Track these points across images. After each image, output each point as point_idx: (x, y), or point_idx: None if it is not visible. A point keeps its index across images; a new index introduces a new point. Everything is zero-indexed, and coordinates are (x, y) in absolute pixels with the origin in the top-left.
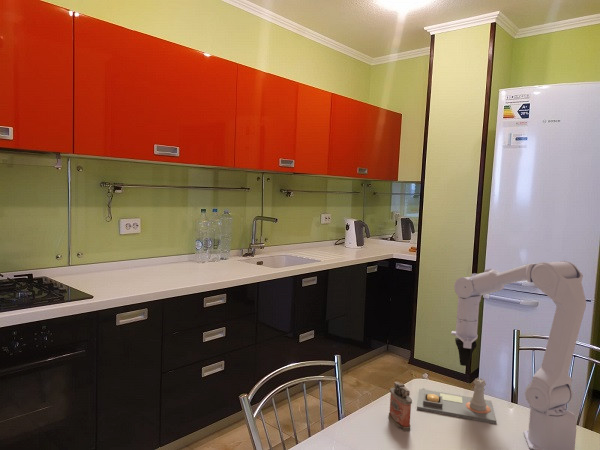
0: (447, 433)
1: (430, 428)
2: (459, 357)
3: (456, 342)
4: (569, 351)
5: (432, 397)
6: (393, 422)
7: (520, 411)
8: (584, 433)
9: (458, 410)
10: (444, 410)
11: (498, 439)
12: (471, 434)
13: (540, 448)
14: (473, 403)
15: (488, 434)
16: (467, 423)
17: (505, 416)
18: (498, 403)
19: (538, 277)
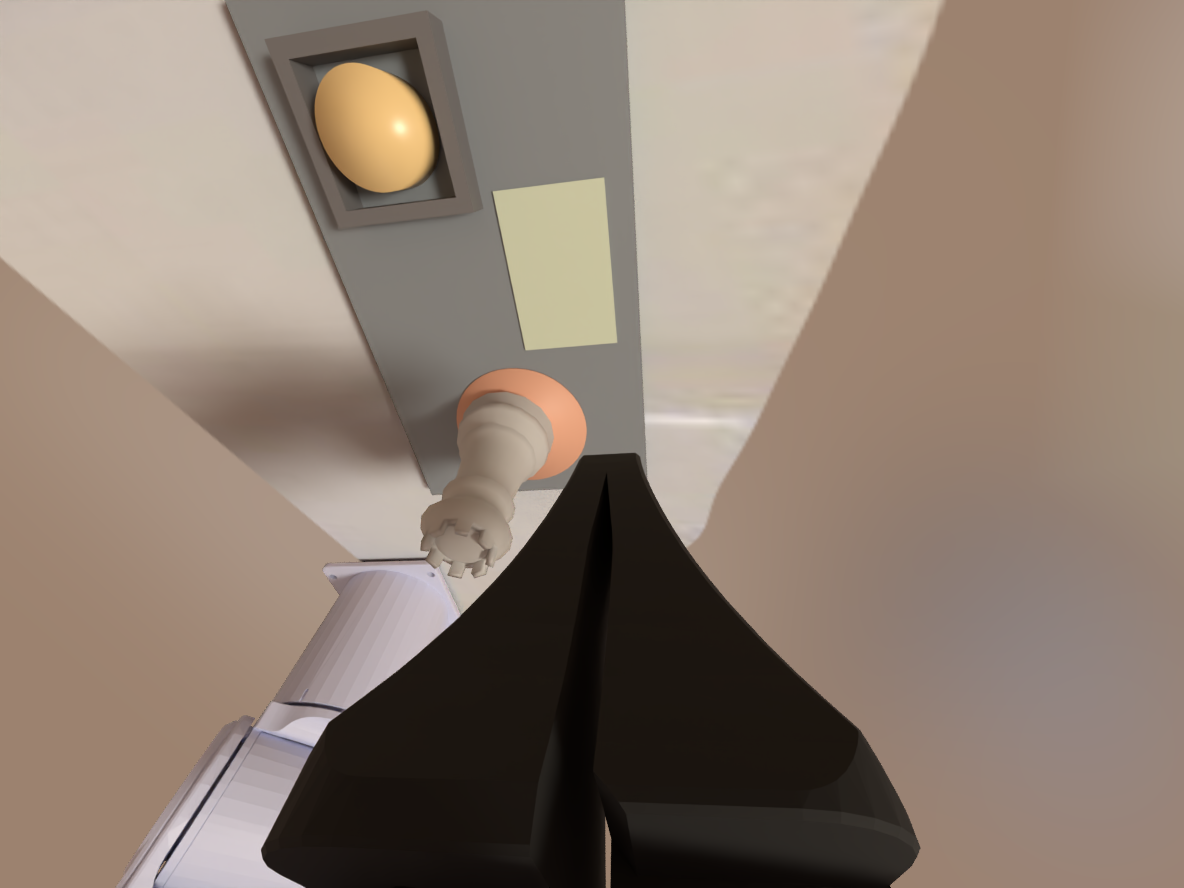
0: (142, 283)
1: (88, 172)
2: (551, 510)
3: (286, 819)
4: None
5: (347, 129)
6: None
7: None
8: None
9: (409, 331)
10: (341, 244)
11: (309, 486)
12: (250, 394)
13: (340, 590)
14: (462, 425)
15: (316, 456)
16: (341, 375)
17: (537, 518)
18: (664, 502)
19: None
